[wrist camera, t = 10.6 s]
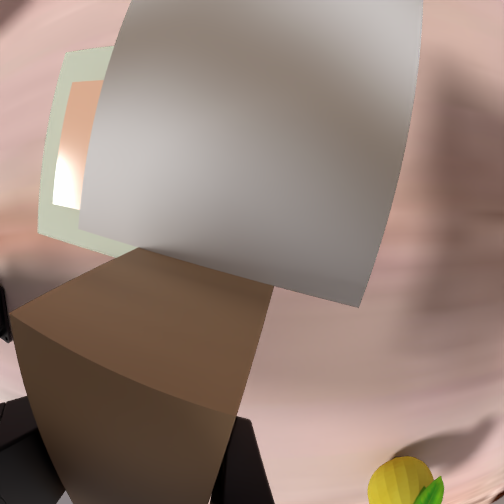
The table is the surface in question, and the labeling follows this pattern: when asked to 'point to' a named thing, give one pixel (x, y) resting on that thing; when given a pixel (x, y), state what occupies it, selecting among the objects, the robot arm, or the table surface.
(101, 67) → the felt mat
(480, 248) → the table surface
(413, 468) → the lemon
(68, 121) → the tile
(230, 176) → the turner
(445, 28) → the table surface
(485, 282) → the table surface
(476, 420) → the table surface
